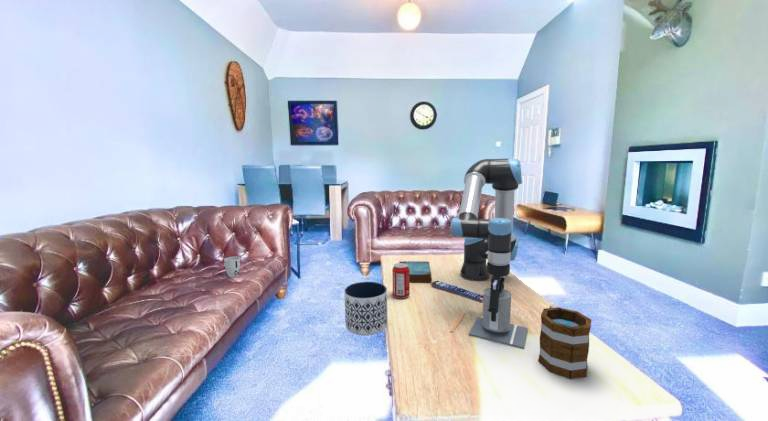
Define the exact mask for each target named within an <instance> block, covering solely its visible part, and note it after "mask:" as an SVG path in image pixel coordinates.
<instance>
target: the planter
mask: <svg viewBox="0 0 768 421" xmlns="http://www.w3.org/2000/svg"><path fill="white" fill-rule="evenodd" d="M344 318H345V319H344V320H345V322H344V323H345V328H346V330H347V331H349V333H352V334H354V335H357V336H372V335H373V336H374V335H377V334H379V333H382V332H383V331H385V329H386V328H387V326H388V289H387V286H385V285H384V284H382V283H380V282H375V281H358V282H355V283H352V284H349V285H347V286H346V287H345V289H344Z"/></svg>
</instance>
